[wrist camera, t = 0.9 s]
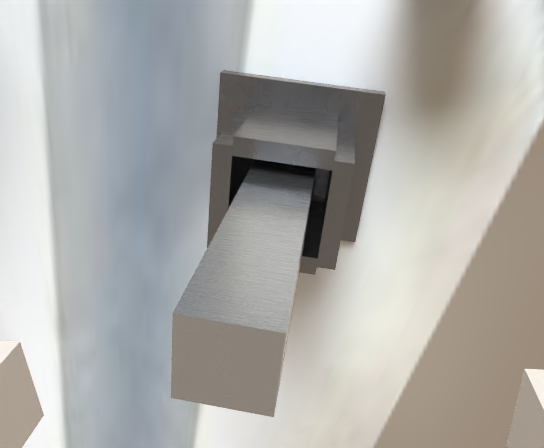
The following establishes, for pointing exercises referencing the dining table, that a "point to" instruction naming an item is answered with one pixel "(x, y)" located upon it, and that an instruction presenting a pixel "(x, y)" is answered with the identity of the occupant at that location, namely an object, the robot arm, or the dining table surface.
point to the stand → (298, 150)
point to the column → (244, 294)
